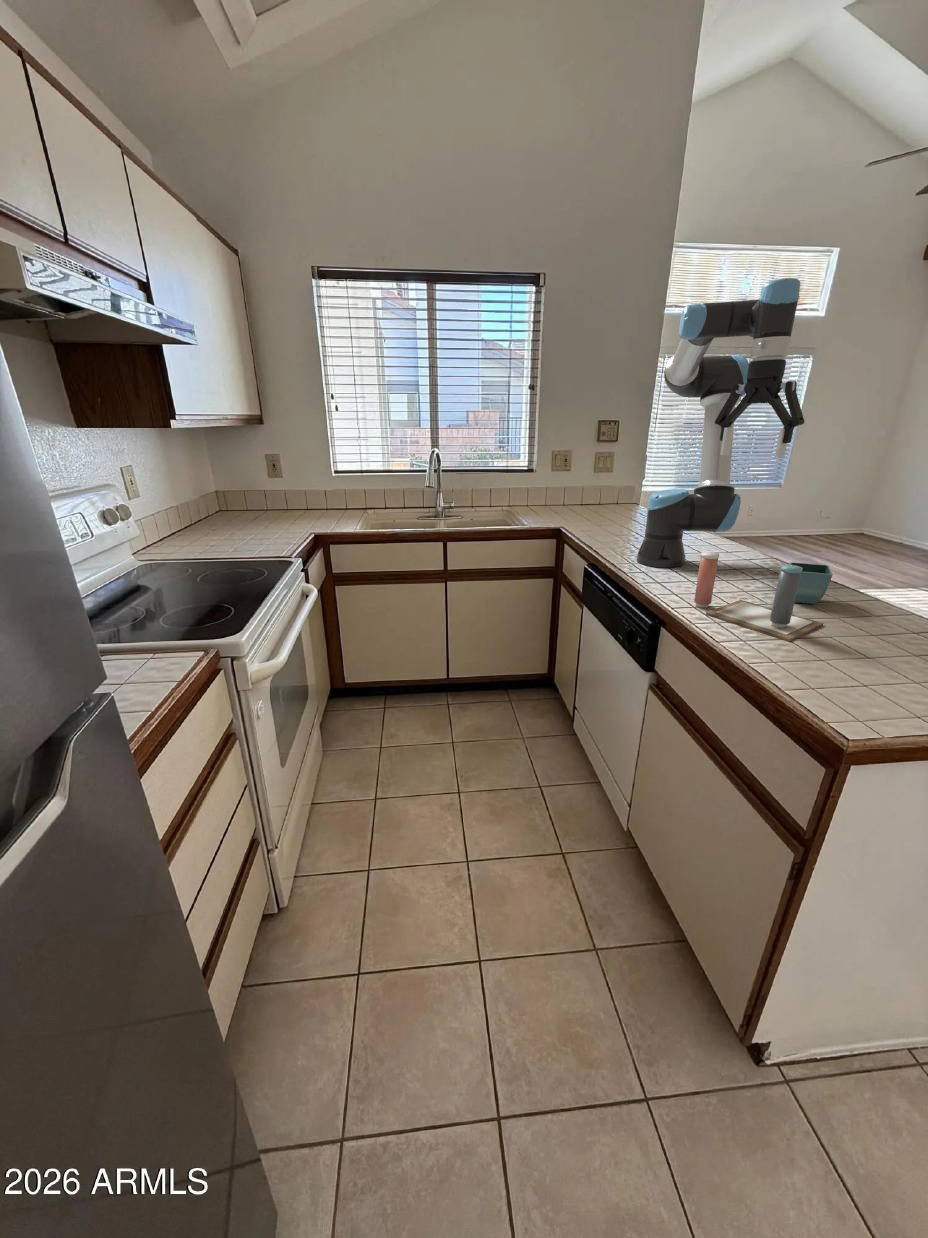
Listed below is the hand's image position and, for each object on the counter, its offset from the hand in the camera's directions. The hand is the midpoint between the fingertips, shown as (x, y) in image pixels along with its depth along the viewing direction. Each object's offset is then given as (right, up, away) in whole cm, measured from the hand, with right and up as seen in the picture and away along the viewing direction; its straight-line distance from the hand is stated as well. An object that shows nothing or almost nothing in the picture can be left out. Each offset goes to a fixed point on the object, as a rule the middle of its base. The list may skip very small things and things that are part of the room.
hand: (750, 456), depth 126 cm
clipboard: (+1, -40, -2) cm, 40 cm away
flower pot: (+19, -35, +9) cm, 41 cm away
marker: (+2, -41, -8) cm, 42 cm away
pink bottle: (-9, -37, +7) cm, 38 cm away
